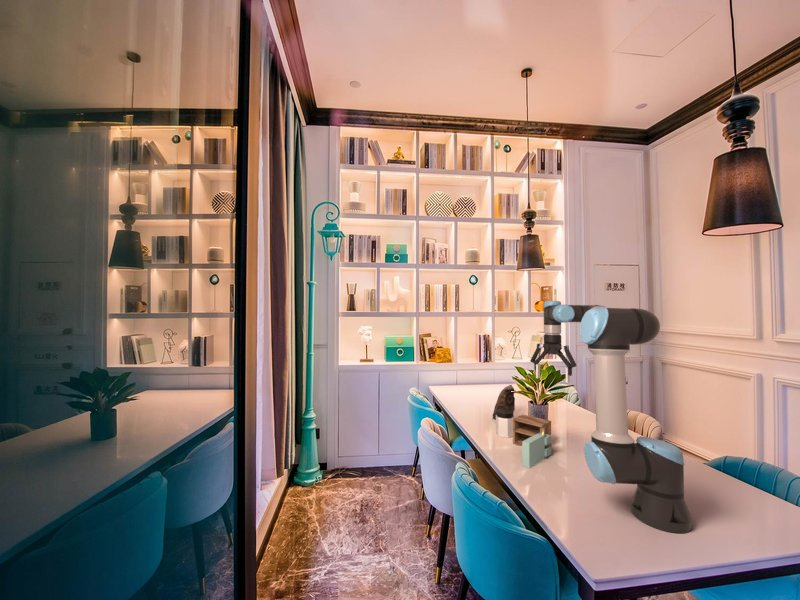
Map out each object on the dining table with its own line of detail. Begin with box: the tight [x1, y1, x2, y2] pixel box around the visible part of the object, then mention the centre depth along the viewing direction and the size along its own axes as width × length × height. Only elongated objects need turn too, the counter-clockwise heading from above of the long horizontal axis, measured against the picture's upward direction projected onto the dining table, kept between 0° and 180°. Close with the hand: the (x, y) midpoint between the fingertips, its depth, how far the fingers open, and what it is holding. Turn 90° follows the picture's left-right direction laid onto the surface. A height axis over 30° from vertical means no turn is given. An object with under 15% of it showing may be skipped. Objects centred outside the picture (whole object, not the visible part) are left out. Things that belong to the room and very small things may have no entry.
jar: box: [495, 409, 514, 438], centre depth 179 cm, size 9×8×12 cm
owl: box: [492, 384, 516, 421], centre depth 202 cm, size 13×13×20 cm
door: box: [521, 433, 552, 469], centre depth 148 cm, size 19×5×10 cm, turn 134°
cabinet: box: [512, 413, 552, 448], centre depth 165 cm, size 10×14×12 cm
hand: (552, 380), depth 161 cm, fingers open, 13 cm apart
